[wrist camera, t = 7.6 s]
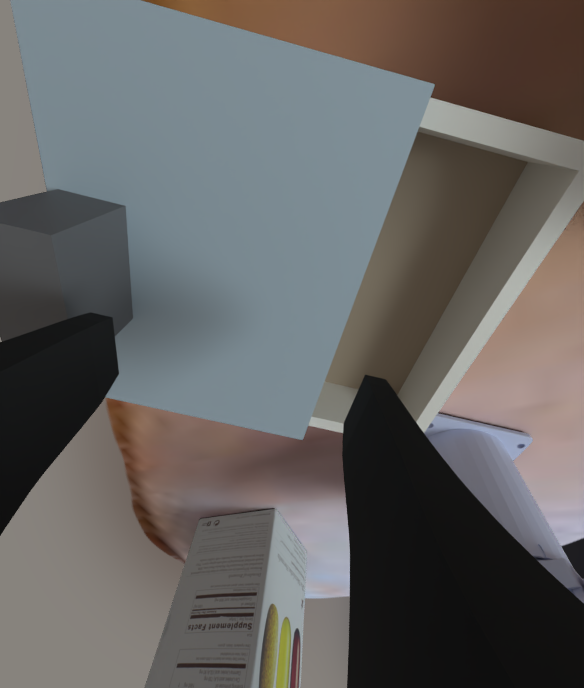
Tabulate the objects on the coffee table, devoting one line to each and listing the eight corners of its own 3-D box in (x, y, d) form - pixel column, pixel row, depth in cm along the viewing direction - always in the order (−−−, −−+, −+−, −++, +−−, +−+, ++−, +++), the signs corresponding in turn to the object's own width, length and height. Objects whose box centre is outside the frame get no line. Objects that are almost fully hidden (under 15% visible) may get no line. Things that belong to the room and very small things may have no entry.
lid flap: (303, 429, 19) (297, 507, 15) (94, 383, 19) (31, 453, 15) (427, 87, 10) (494, 61, 6) (25, -28, 9) (-192, -140, 6)
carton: (400, 402, 23) (413, 448, 20) (234, 364, 22) (219, 405, 19) (549, 145, 14) (618, 150, 11) (280, 69, 13) (266, 50, 10)
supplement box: (309, 551, 37) (299, 813, 23) (237, 559, 39) (188, 798, 25) (275, 505, 32) (237, 800, 18) (196, 517, 34) (109, 782, 20)
